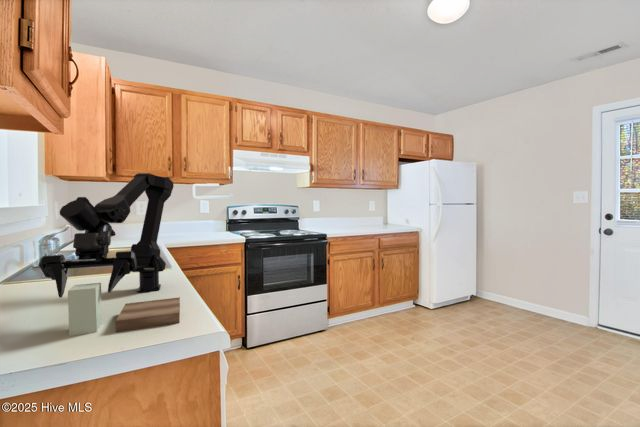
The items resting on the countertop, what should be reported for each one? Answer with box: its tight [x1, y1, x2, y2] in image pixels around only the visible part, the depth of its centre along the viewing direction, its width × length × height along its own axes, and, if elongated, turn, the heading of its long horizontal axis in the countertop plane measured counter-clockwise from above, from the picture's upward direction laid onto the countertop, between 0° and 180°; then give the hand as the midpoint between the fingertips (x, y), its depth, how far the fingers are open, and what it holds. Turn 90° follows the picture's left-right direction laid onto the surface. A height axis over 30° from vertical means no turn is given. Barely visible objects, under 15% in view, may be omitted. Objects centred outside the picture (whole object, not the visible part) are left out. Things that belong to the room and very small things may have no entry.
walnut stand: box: [115, 296, 181, 333], centre depth 78 cm, size 13×13×2 cm
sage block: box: [67, 282, 103, 337], centre depth 71 cm, size 5×5×10 cm
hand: (85, 294), depth 71 cm, fingers open, 9 cm apart
